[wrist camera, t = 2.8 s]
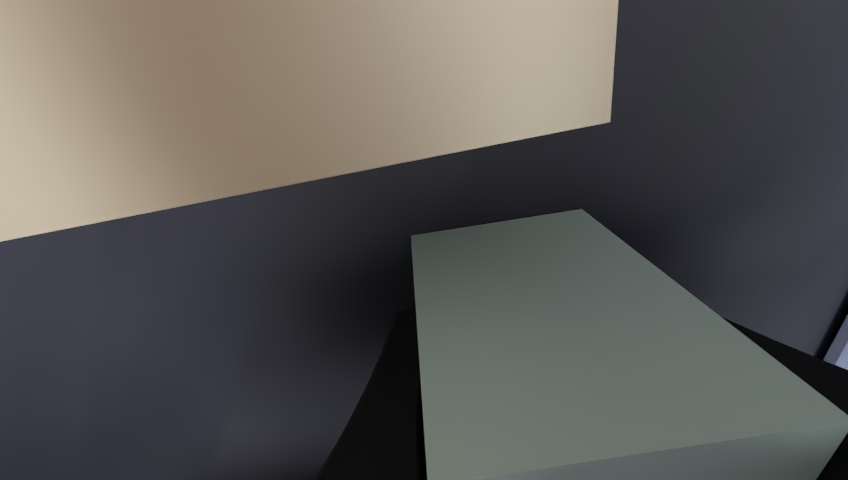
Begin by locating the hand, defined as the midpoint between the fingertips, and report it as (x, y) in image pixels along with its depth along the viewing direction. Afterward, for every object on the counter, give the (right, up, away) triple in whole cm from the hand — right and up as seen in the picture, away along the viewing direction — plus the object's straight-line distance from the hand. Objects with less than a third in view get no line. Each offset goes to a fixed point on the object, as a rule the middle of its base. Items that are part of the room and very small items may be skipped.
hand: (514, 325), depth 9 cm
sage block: (0, +1, +1) cm, 1 cm away
